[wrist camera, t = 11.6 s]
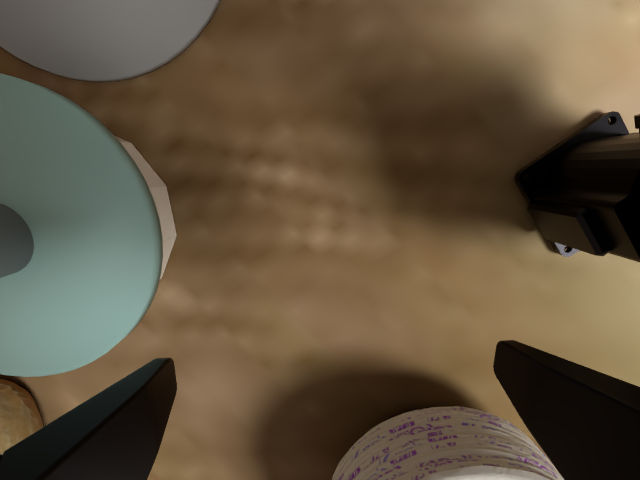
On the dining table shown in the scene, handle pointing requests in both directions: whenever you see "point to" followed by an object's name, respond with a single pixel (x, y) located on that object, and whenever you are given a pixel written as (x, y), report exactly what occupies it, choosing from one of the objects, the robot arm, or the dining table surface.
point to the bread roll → (16, 415)
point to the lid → (68, 234)
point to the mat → (101, 34)
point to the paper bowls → (445, 449)
